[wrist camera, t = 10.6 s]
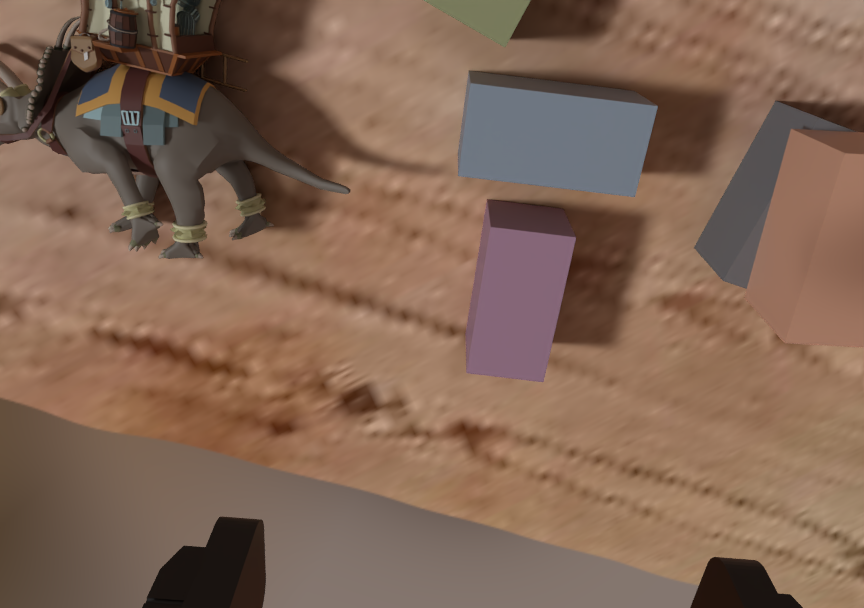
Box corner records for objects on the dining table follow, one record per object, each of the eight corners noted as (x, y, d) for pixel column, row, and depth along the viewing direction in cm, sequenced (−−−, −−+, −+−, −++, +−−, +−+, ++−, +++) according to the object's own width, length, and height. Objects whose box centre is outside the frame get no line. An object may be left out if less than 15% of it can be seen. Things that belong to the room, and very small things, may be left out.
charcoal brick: (774, 100, 32) (818, 117, 28) (847, 128, 33) (900, 148, 29) (693, 246, 36) (722, 280, 32) (760, 270, 36) (797, 306, 32)
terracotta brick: (791, 128, 28) (845, 153, 25) (885, 133, 28) (954, 159, 24) (744, 297, 32) (784, 343, 28) (828, 302, 32) (880, 348, 28)
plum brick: (486, 198, 35) (490, 226, 31) (562, 207, 35) (576, 237, 31) (465, 332, 38) (466, 372, 34) (534, 340, 38) (543, 382, 34)
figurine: (-75, 252, 32) (-213, -181, 24) (10, 213, 37) (-82, -151, 30) (342, 279, 30) (327, -174, 23) (367, 235, 35) (361, -143, 28)
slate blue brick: (457, 152, 34) (458, 176, 30) (468, 70, 32) (470, 83, 28) (613, 171, 34) (634, 196, 30) (633, 90, 32) (657, 106, 28)
